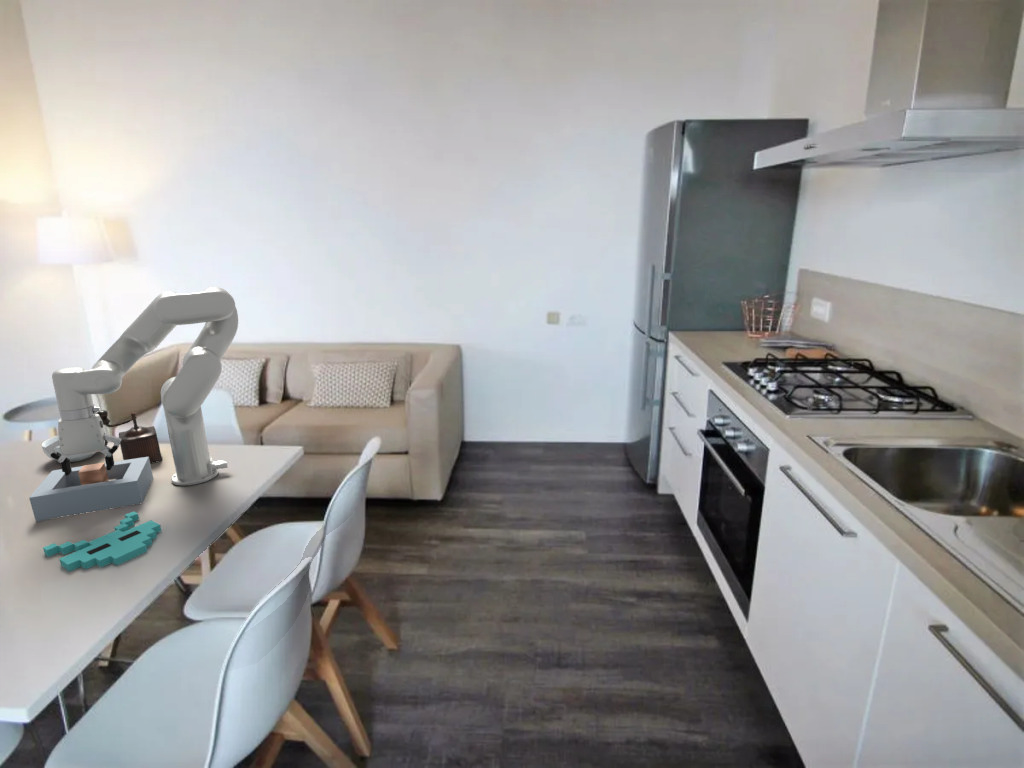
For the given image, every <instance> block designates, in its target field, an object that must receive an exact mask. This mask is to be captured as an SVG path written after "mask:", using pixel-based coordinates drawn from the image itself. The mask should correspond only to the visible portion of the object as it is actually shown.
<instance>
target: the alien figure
mask: <svg viewBox="0 0 1024 768" xmlns="http://www.w3.org/2000/svg"><path fill="white" fill-rule="evenodd" d="M138 519H139V520H140V515H139V513H138V512H136V511H131V512H129V513H126V514H124V519H121V520H119V524H118V525H116V526H114V527H113V529H114V531H112V532H108V533H107V534H105V535H102V536H99V537H97V538H95V539H92V540H90V541H87V540H86V539H82V540H79V541H77V542H74V543H73V542H71V541H69V540H68V541H66V542H64V543H61V544H59V545H58V544H56V543H55V542H54V543H51V544H48V545H45V546H43V547H42V550H43V553H44V555H46V557H48V558H50V557H51V556H54V555H57V554H59V553H60V554H61V555H63V556H62V557H59V563H60V566H61V567H63V568H64V569H66V570H67V571H68V572H71V571H75V570H76V569H79V568H82V569H84V570H88V569H89V568H93V567H94V566H98V567H100V568H103V567H106V566H107V565H110V564H114V565H115V566H119V565H121V564H123V563H125V562H127V561H130V560H132V559H134V558H136V557H139V556H140V555H142V554H145V553H147V552H148V547H150V546H152V545H153V541H152V540H155V539H157V538H158V536H157V534H158V533H160V532H162V527H161V524H159V522H156V521H154V520H148V521H146V522H143V523H141V524H139V525H136V526H134V525H135V522H136V520H137V521H139V520H138ZM129 527H130V528H129Z"/></svg>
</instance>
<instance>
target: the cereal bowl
mask: <svg viewBox="0 0 1024 768" xmlns="http://www.w3.org/2000/svg"><path fill="white" fill-rule="evenodd" d="M58 440H59V437H58V435H55V436H53V437H50V438H48V439H46V440H44V441H43V442H42V444H41V449H42V451H43V453H44V454H45V455H46V457H48V458H49V459H51V460H55V461H57V460H56V459H54V458H52V457H51V455H50V454H48V453H47V452H46V451H45V448H46V447H47V446H49V445H50V444H52V443H54V442H56V441H58ZM54 450H55V451H56V452H58V453H60V454H62V453H61V450H60V445H59V446H58V447H56V448H54ZM96 453H97V452H92V453H84V454H75V455H68V456H67V458H68V459H69V460H70V463H71V462H72V463H74V462H79V461H84V460H87V459H89V458H91V457H93V455H94V454H96Z"/></svg>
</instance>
